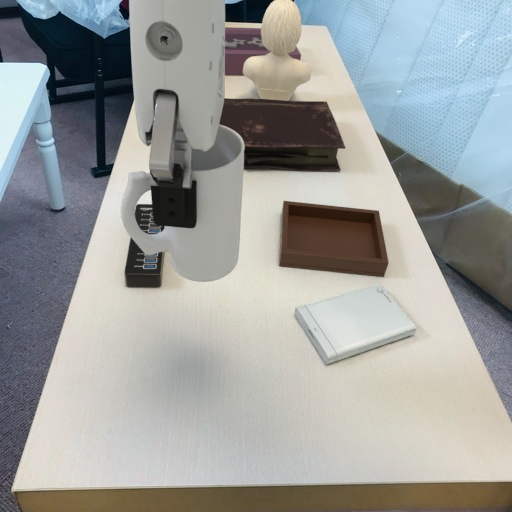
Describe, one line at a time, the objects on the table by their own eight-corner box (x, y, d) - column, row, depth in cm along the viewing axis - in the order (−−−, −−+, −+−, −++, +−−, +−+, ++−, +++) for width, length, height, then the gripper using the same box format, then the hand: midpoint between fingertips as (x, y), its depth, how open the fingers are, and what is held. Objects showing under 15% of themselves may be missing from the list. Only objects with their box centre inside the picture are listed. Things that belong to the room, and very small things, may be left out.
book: (284, 48, 128) (287, 28, 125) (298, 76, 116) (301, 54, 113) (182, 46, 124) (182, 25, 120) (186, 74, 112) (186, 52, 109)
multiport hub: (125, 287, 64) (123, 274, 63) (137, 216, 75) (136, 203, 73) (161, 287, 65) (160, 274, 63) (168, 216, 75) (167, 204, 74)
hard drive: (379, 281, 66) (295, 305, 62) (417, 327, 61) (329, 357, 57) (376, 290, 68) (293, 314, 63) (413, 336, 62) (326, 365, 58)
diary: (195, 117, 98) (195, 92, 95) (322, 121, 101) (326, 97, 98) (194, 171, 85) (194, 144, 81) (341, 174, 87) (346, 149, 84)
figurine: (304, 94, 110) (320, -7, 96) (306, 114, 103) (323, 9, 89) (242, 88, 109) (249, -14, 96) (239, 108, 102) (246, 1, 89)
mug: (223, 225, 50) (222, 114, 41) (254, 270, 46) (260, 158, 37) (122, 255, 46) (98, 141, 38) (146, 307, 42) (125, 193, 34)
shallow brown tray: (383, 277, 69) (388, 263, 68) (279, 266, 69) (281, 252, 68) (374, 224, 78) (379, 210, 76) (281, 214, 78) (283, 200, 76)
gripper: (226, -8, 23) (217, 273, 35) (250, -78, 36) (238, 145, 48) (60, -24, 23) (108, 264, 35) (144, -88, 36) (158, 138, 48)
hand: (183, 194), depth 41 cm, fingers closed on mug, 6 cm apart
